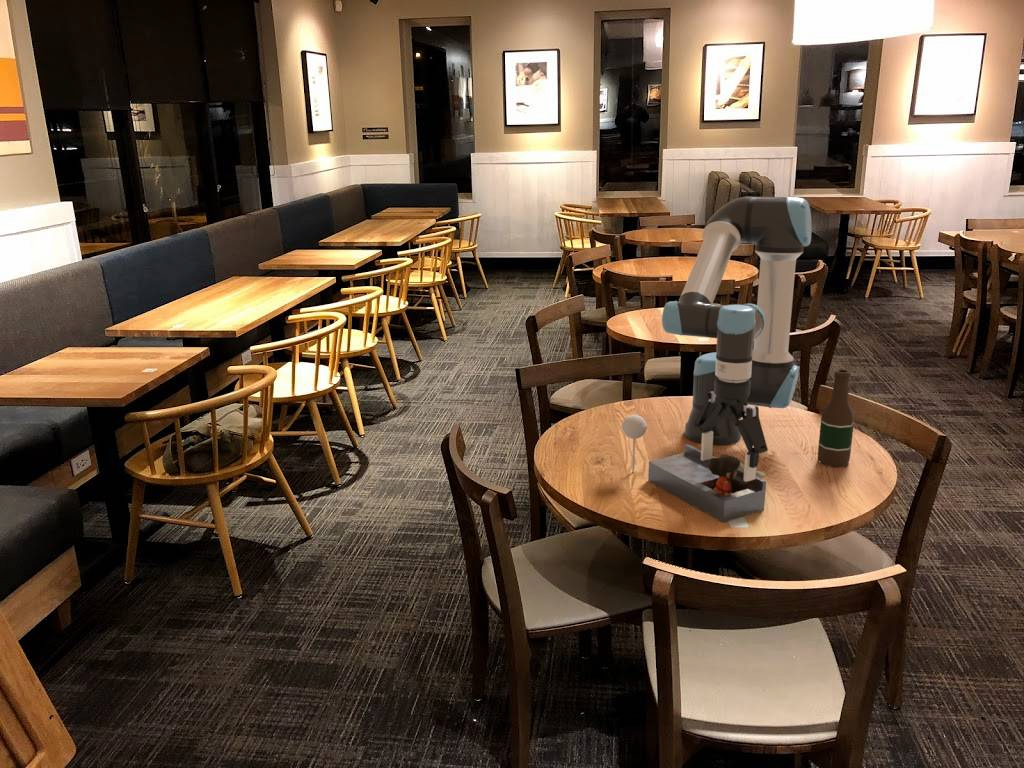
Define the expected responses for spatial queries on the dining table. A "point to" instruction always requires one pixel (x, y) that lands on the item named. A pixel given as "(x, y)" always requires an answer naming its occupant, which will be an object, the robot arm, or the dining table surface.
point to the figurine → (724, 472)
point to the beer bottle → (837, 425)
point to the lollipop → (634, 430)
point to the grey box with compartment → (706, 485)
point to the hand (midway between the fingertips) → (727, 469)
